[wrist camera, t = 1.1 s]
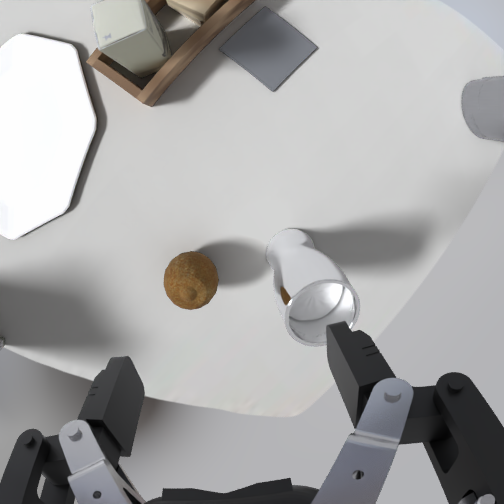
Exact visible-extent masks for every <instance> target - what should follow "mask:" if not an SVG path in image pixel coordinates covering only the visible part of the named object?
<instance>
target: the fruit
mask: <svg viewBox="0 0 504 504" xmlns="http://www.w3.org/2000/svg"><path fill="white" fill-rule="evenodd" d="M218 281H219V279H218V274H217V270H216V267H215V266H214V264H213V263H212V261H211V260H210V259H209V258H208V257H206V256H205V255H203V254H202V253H198V252H193V251H190V252H185V253H181V254H180V255H178V256H177V257H175V258H174V259H172V261H171V262H170V264H169V265H168V267H167V268H166V270H165V275H164V287H165V291H166V294H167V296H168V297H169V298H170V300H171V301H172V302H173V303H174V304H175V305H177V306H179V307H180V308H183V309H189V310H192V309H198V308H201V307H202V306H204V305H206V304H208V303H209V302H210V300H211V299H212V298H213V296H214V295H215V293H216V291H217V286H218Z"/></svg>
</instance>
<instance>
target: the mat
mask: <svg viewBox="0 0 504 504" xmlns="http://www.w3.org/2000/svg"><path fill="white" fill-rule="evenodd" d="M316 48H317V47H316V46H315V45H314V44H313V43H312V42H310V41H309V40H308V39H307V38H306V37H305V36H303V35H302V34H301V33H300V32H298V31H297V30H296V29H295V28H293V27H292V26H291V25H290V24H288V23H287V22H286V21H285V20H283V19H282V18H281V17H279V16H278V15H277V14H275V13H274V12H273V11H271V10H270V9H269V8H267V7H266V6H265V7H264V8H263V9H261V10H260V11H259V12H258V13H257V14H256V15H255V16H254V17H252V18H251V19H250V20H249V21H248V22H247V23H246V24H245V25H244V26H242V27H241V28H240V29H239V30H238V31H237V32H236V33H235V34H234V35H233V36H232V37H231V38H230V39H229V40H228V41H227V42H226V43H225V44H224V45H223V46H222V47H221V48H220V49H219V50H220V51H222V52H223V53H224V54H226V55H227V56H228V57H230V58H231V59H232V60H234V61H235V62H236V63H238V64H239V65H240V66H241V67H243V68H244V69H245V70H247V71H248V72H249V73H250V74H252V75H253V76H254V77H255V78H257V79H258V80H259V81H260V82H261V83H263V84H264V85H265V86H266V87H268V88H269V89H270V90H271V91H272V92H273V91H274V90H275V89H276V88H277V87H278V86H279V85H280V84H281V83H282V82H283V81H284V80H285V79H286V77H287V76H288V75H289V74H290V73H291V72H292V71H293V70H294V69H295V68H296V67H297V66H298V65H299V64H300V63H302V62H303V61H304V60H305V59H306V58H307V57H308V56H309V55H310V54H311V53H312V52H313V51H314V50H315V49H316Z"/></svg>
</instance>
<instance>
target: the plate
mask: <svg viewBox="0 0 504 504" xmlns="http://www.w3.org/2000/svg"><path fill="white" fill-rule="evenodd" d="M96 130H97V116H96V113H95V110H94V107H93V104H92V100H91V97H90V94H89V90H88V87H87V83H86V80H85V76H84V73H83V69H82V65H81V62H80V58H79V54H78V50H77V49H76V48H75V47H74V46H73V45H72V44H69V43H65V42H61V41H56V40H52V39H48V38H43V37H39V36H34V35H29V34H24V33H21V34H18V35H15V36H14V37H12V38H11V39H10V40H9V41H7V42H6V43H5V44H4V45H2V46H1V47H0V234H1V235H3V236H4V237H6V238H8V239H14V240H15V239H17V238H19V237H21V236H22V235H24V234H26V233H28V232H29V231H31V230H33V229H35V228H37V227H39V226H40V225H42V224H44V223H46V222H48V221H50V220H52V219H53V218H55V217H57V216H59V215H61V214H63V213H65V211H66V210H67V209H68V208H69V206H70V204H71V201H72V197H73V194H74V191H75V188H76V184H77V181H78V178H79V175H80V172H81V169H82V167H83V164H84V161H85V158H86V155H87V153H88V150H89V147H90V145H91V142H92V140H93V137H94V135H95V132H96Z"/></svg>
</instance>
